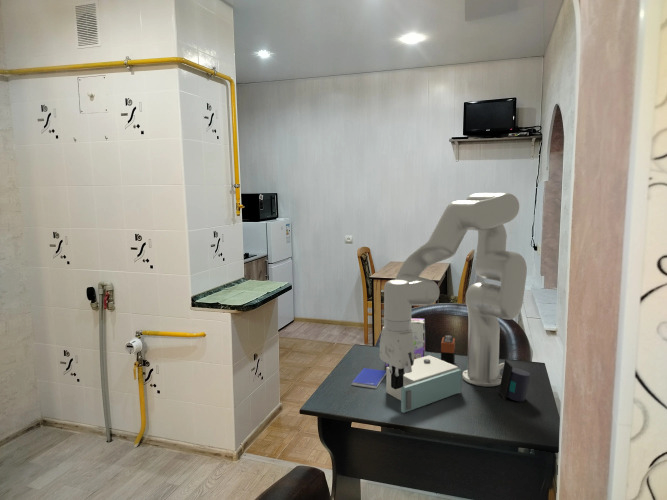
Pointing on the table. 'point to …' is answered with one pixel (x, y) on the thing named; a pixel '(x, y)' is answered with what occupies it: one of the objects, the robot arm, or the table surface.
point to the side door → (431, 390)
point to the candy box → (418, 337)
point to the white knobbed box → (419, 373)
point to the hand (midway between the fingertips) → (397, 387)
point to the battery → (448, 349)
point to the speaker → (514, 383)
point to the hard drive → (369, 378)
